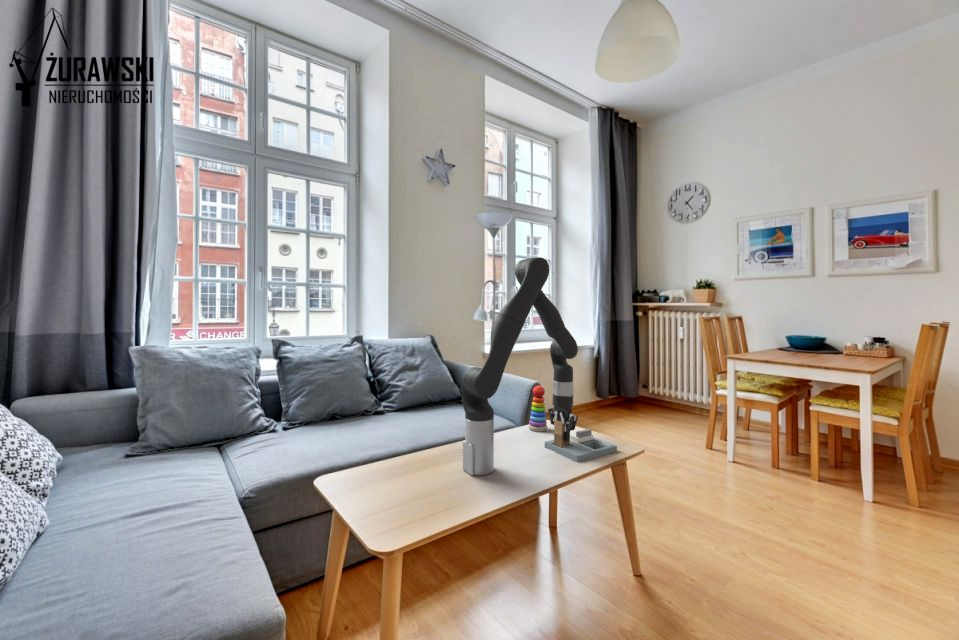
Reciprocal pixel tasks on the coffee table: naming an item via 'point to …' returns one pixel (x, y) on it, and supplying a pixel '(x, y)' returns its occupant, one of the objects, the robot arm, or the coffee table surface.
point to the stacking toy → (538, 411)
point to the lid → (581, 435)
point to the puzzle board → (582, 449)
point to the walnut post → (560, 434)
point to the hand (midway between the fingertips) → (562, 438)
